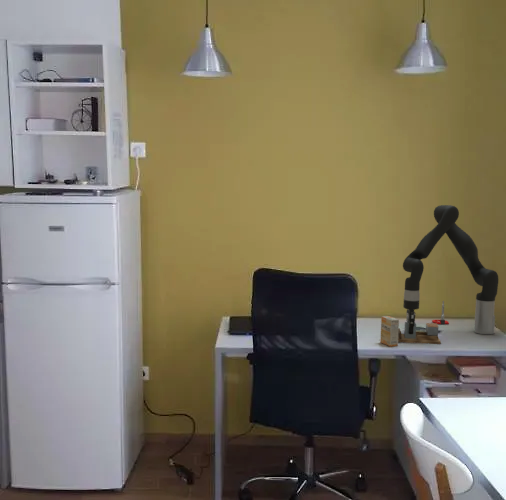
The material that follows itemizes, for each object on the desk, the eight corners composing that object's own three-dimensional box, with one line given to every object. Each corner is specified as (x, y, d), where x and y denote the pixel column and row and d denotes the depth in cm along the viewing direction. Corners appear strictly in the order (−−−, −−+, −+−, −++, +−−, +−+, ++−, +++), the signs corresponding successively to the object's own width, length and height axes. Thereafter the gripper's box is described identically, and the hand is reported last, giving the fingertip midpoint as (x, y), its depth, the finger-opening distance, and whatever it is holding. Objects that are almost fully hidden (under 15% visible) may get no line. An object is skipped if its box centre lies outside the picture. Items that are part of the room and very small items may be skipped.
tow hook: (430, 321, 366) (435, 324, 357) (430, 298, 365) (436, 301, 356) (444, 321, 367) (450, 324, 357) (445, 298, 366) (451, 301, 356)
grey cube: (435, 336, 325) (436, 323, 324) (437, 339, 319) (438, 326, 318) (425, 335, 326) (426, 323, 325) (427, 338, 320) (427, 325, 319)
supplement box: (379, 342, 317) (380, 316, 316) (388, 341, 319) (389, 315, 318) (389, 347, 310) (390, 319, 308) (398, 346, 312) (399, 319, 310)
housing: (414, 336, 326) (415, 320, 325) (415, 338, 321) (416, 323, 320) (404, 335, 326) (404, 320, 325) (405, 338, 322) (405, 322, 321)
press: (436, 337, 328) (437, 329, 328) (440, 344, 316) (441, 335, 316) (396, 336, 331) (396, 327, 330) (398, 342, 319) (398, 333, 318)
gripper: (421, 302, 314) (419, 336, 316) (417, 296, 328) (416, 329, 330) (405, 301, 315) (403, 335, 317) (402, 295, 329) (400, 328, 331)
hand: (410, 332), depth 324 cm, fingers open, 5 cm apart
